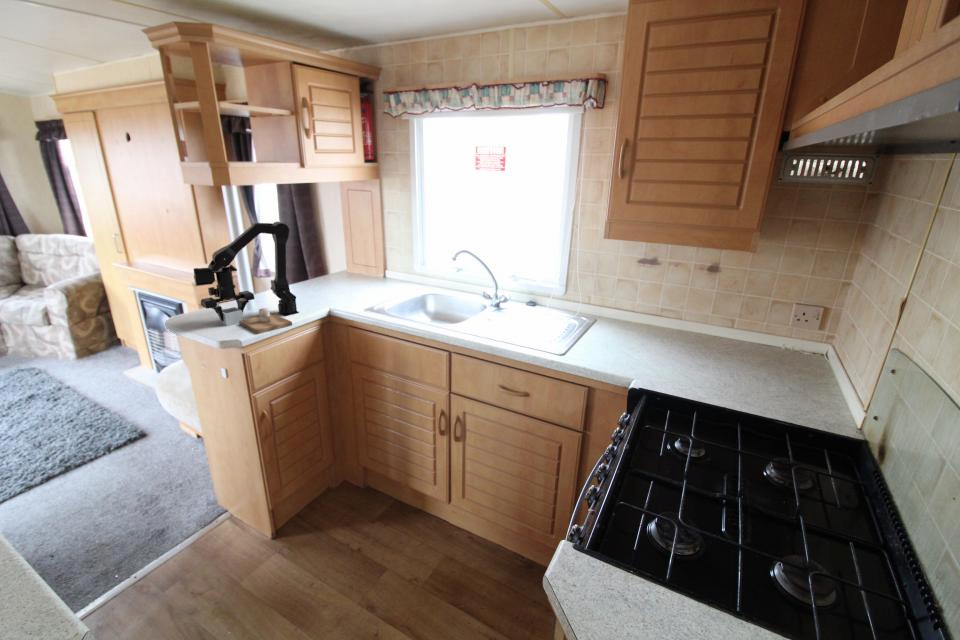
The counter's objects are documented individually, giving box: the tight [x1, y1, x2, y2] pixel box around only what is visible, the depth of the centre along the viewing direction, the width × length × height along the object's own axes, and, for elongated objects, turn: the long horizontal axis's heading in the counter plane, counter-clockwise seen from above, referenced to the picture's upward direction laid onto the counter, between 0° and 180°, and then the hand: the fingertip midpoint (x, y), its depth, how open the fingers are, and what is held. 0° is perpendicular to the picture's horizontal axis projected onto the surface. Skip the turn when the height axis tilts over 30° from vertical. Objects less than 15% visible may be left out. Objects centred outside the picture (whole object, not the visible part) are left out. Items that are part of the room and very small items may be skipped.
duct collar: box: [218, 306, 244, 327], centre depth 186 cm, size 7×7×5 cm
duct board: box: [238, 307, 293, 335], centre depth 184 cm, size 14×16×6 cm
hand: (231, 319), depth 187 cm, fingers closed on duct collar, 7 cm apart
